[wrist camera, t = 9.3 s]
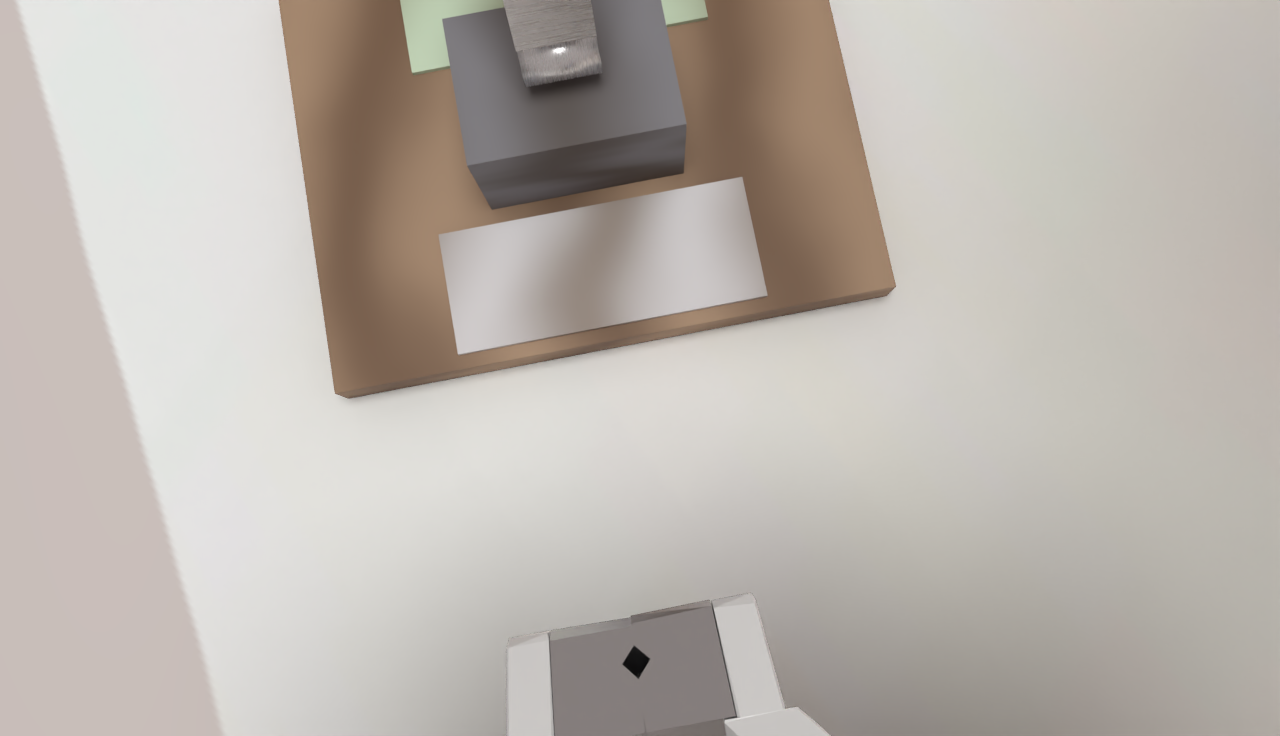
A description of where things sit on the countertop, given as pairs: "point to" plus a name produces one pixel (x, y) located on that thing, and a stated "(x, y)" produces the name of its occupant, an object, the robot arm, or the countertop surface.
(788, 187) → the switch board
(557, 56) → the toggle lever
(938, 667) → the countertop surface
